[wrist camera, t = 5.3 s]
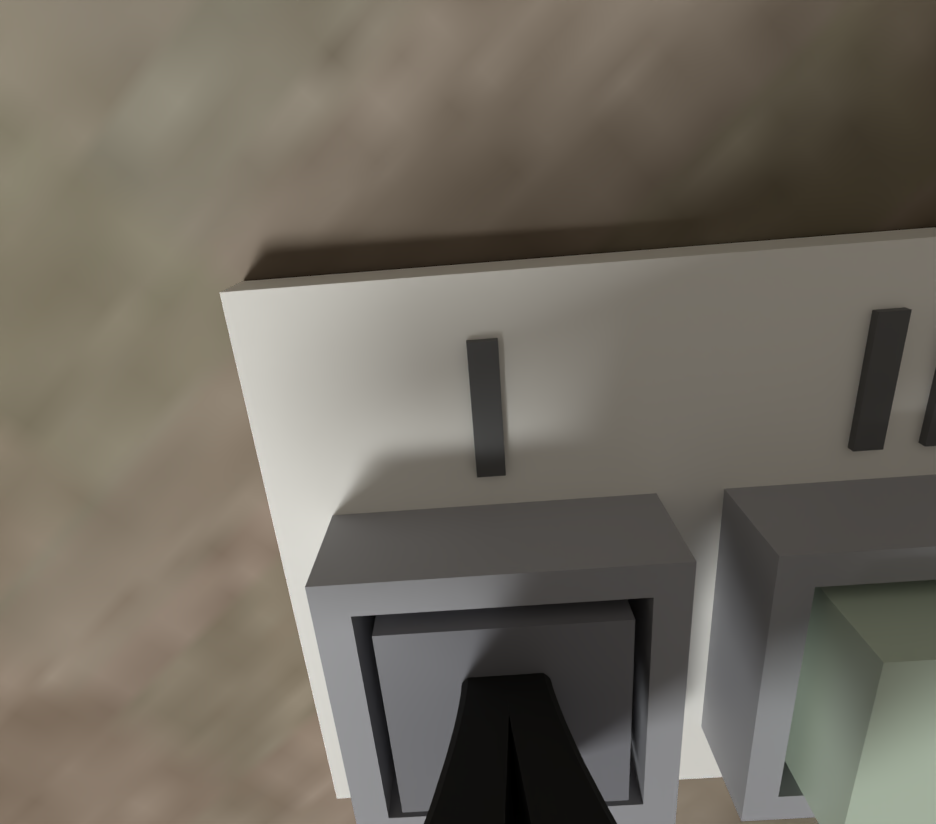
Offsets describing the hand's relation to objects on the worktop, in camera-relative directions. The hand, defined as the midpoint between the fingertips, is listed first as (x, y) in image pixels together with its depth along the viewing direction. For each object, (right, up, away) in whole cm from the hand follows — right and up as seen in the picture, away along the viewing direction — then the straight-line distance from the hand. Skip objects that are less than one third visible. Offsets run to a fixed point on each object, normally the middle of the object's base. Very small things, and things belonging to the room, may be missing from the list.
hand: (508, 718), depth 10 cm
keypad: (+7, +3, +2) cm, 8 cm away
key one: (0, +1, +2) cm, 2 cm away
